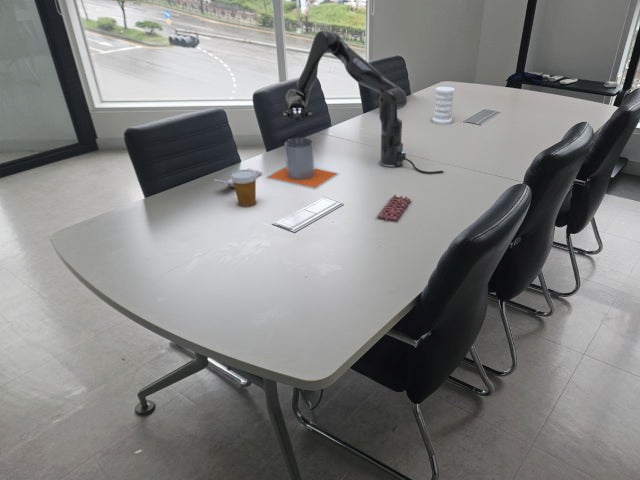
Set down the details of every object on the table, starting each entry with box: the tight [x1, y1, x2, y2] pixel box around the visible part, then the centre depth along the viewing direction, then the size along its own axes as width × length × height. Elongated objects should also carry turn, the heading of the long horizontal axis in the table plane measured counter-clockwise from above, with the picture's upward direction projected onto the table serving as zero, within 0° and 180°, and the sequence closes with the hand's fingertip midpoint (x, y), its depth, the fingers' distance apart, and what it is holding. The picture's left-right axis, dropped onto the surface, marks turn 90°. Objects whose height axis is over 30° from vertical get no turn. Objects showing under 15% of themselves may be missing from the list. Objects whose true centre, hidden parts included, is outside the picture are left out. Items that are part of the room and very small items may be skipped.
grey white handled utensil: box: [214, 168, 263, 188], centre depth 212 cm, size 6×6×25 cm
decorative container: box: [431, 86, 455, 125], centre depth 289 cm, size 12×12×18 cm
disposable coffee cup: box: [230, 169, 258, 207], centre depth 194 cm, size 10×10×12 cm
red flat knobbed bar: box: [377, 194, 411, 222], centre depth 193 cm, size 7×19×2 cm, turn 160°
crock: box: [284, 137, 316, 180], centre depth 218 cm, size 12×12×15 cm
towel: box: [268, 167, 338, 188], centre depth 221 cm, size 24×18×1 cm
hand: (297, 118), depth 219 cm, fingers closed
